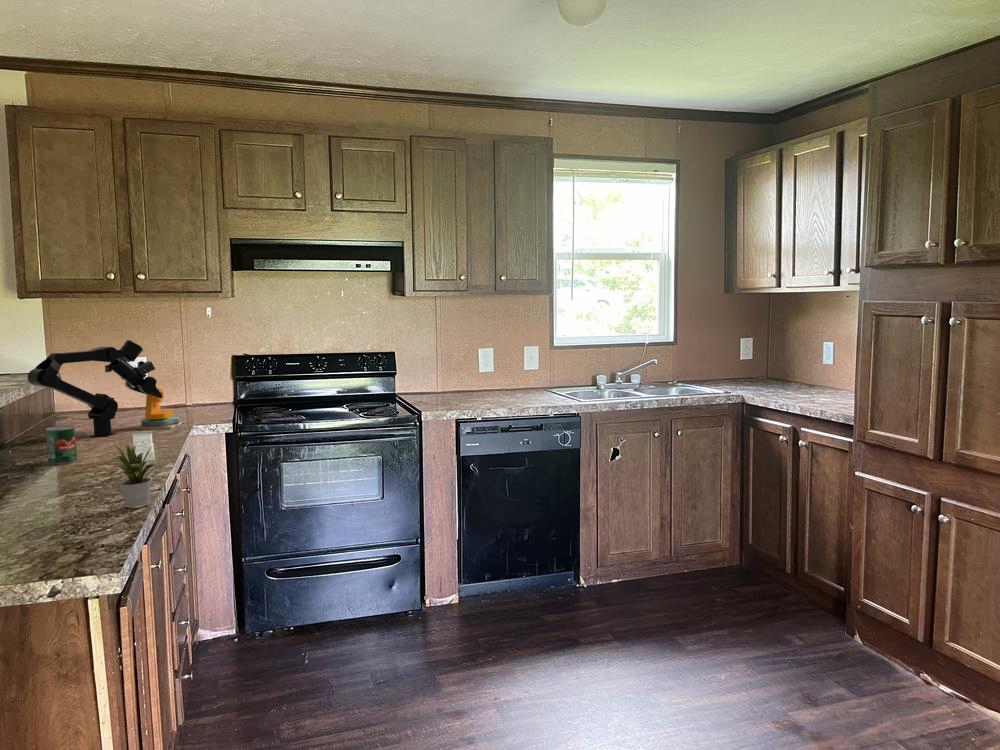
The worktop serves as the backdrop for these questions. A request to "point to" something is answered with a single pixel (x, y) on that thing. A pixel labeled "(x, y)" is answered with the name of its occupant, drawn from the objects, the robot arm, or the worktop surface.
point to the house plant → (134, 477)
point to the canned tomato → (61, 444)
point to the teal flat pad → (160, 423)
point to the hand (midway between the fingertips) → (157, 396)
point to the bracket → (156, 408)
